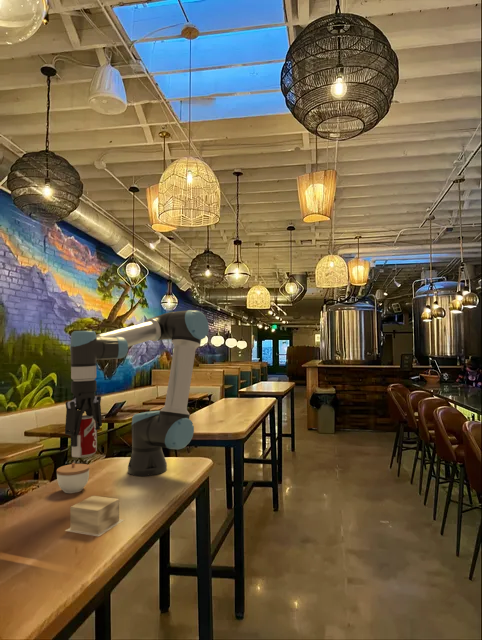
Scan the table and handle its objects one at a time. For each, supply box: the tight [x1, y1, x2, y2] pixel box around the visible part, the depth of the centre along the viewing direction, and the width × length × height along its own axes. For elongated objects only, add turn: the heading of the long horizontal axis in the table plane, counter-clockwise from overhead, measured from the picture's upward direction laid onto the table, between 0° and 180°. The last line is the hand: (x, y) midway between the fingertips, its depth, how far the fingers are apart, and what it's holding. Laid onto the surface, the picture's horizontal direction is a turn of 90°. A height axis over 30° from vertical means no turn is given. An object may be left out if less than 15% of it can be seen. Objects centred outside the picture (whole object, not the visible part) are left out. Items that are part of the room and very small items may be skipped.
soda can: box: [74, 414, 97, 458], centre depth 138 cm, size 7×7×12 cm
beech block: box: [69, 495, 120, 534], centre depth 121 cm, size 9×9×6 cm
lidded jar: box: [56, 462, 90, 494], centre depth 154 cm, size 11×11×9 cm
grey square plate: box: [64, 518, 125, 537], centre depth 122 cm, size 14×14×1 cm
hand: (84, 453), depth 138 cm, fingers closed on soda can, 7 cm apart
